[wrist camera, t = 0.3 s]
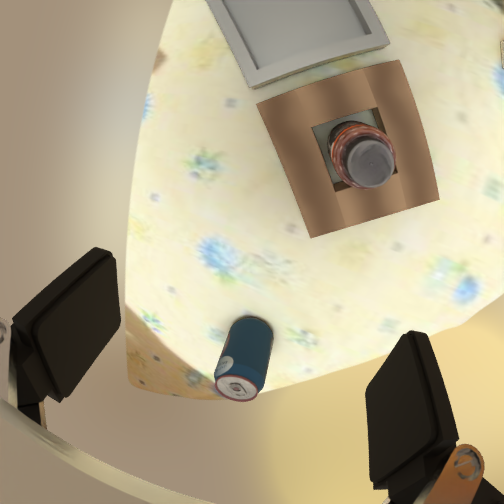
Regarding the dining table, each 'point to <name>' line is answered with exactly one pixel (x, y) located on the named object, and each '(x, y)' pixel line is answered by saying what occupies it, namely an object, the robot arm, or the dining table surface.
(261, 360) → the soda can
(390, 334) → the dining table surface
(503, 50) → the skincare box
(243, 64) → the tray
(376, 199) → the socket block
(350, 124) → the supplement bottle
